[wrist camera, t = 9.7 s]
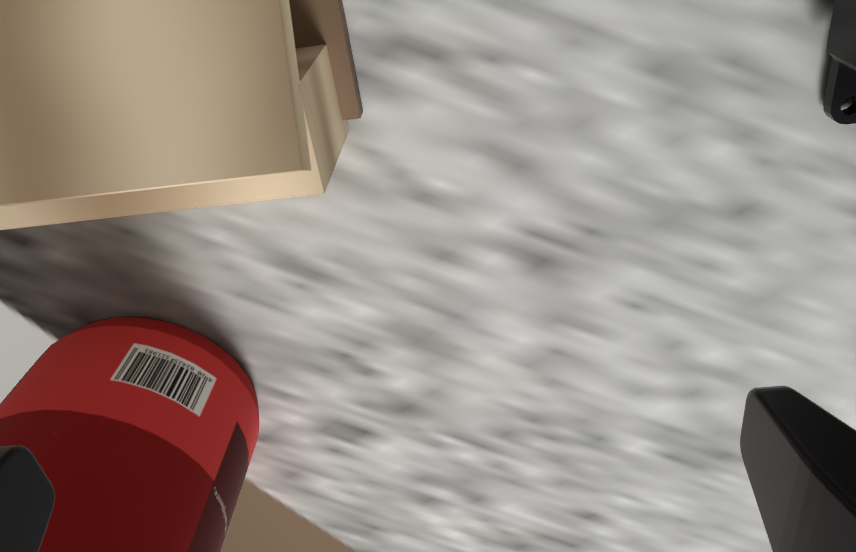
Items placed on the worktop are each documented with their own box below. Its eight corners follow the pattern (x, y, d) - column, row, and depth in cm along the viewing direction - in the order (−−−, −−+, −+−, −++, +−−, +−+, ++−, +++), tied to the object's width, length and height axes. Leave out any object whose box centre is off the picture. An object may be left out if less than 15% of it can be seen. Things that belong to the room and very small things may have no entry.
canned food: (4, 323, 23) (-308, 645, 13) (225, 294, 22) (55, 618, 12) (100, 476, 27) (-90, 806, 17) (290, 457, 26) (198, 794, 16)
